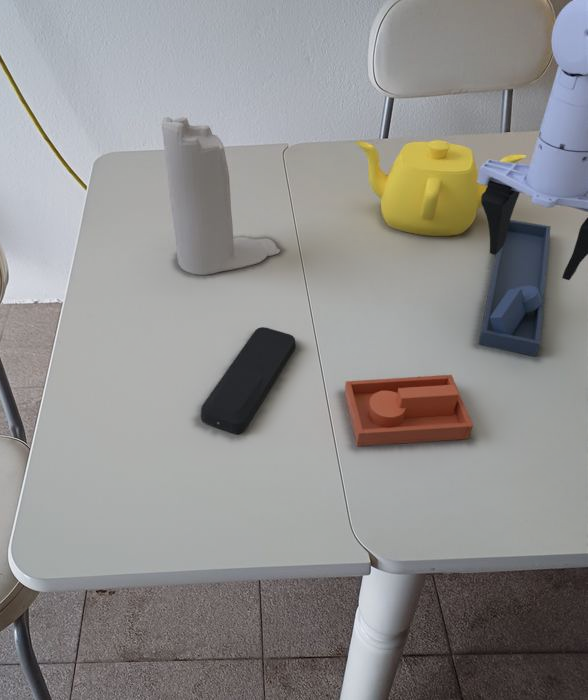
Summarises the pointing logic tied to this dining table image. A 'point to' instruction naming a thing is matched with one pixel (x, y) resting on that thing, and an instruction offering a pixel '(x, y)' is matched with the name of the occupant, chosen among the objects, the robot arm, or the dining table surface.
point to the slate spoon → (514, 308)
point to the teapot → (429, 187)
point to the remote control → (248, 380)
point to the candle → (204, 202)
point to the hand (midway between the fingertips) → (531, 262)
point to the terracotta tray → (410, 427)
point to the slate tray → (518, 285)
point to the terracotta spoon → (411, 404)
